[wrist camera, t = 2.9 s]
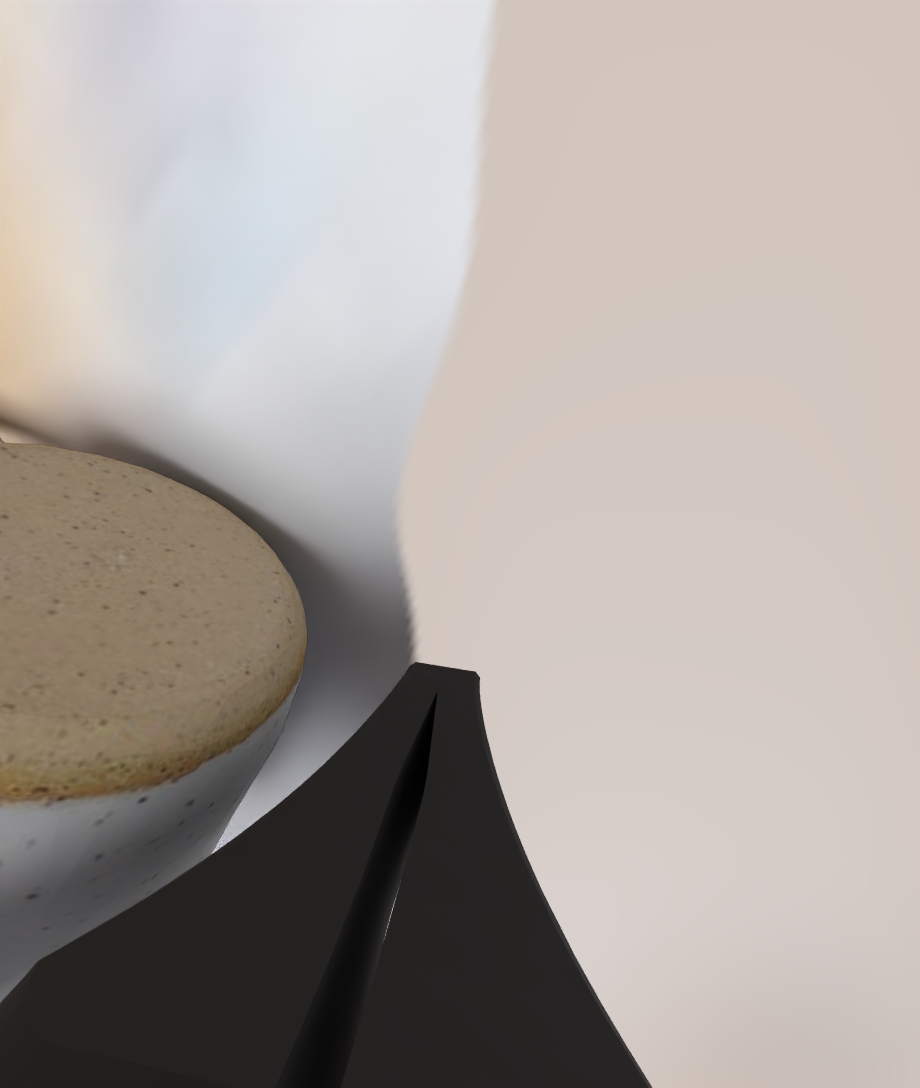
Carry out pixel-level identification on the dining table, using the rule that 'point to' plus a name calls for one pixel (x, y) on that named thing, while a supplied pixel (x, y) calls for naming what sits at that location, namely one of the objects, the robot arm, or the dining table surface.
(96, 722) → the ceramic mug
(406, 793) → the robot arm
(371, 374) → the dining table surface
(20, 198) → the dining table surface
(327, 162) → the dining table surface
